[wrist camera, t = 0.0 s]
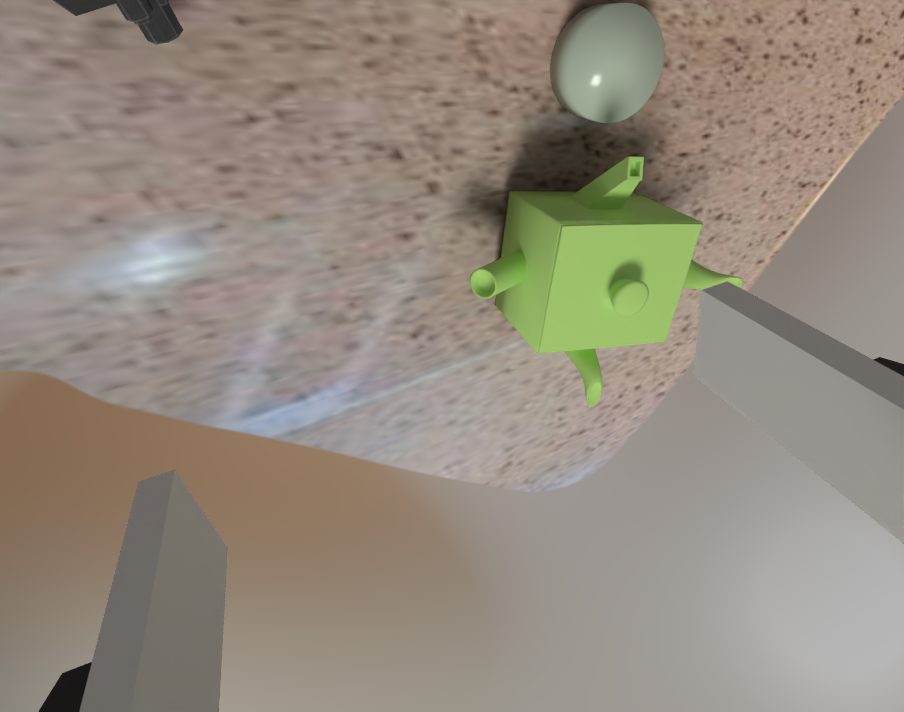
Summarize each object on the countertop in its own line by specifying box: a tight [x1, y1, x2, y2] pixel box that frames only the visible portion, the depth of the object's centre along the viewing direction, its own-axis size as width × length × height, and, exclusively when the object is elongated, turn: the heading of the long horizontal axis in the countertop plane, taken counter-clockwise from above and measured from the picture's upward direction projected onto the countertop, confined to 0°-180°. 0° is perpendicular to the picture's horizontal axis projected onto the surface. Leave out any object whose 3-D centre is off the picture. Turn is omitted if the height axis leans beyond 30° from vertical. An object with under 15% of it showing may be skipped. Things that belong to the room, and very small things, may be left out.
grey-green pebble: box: [550, 3, 664, 123], centre depth 37 cm, size 7×7×3 cm
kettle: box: [470, 157, 743, 407], centre depth 40 cm, size 15×14×11 cm
